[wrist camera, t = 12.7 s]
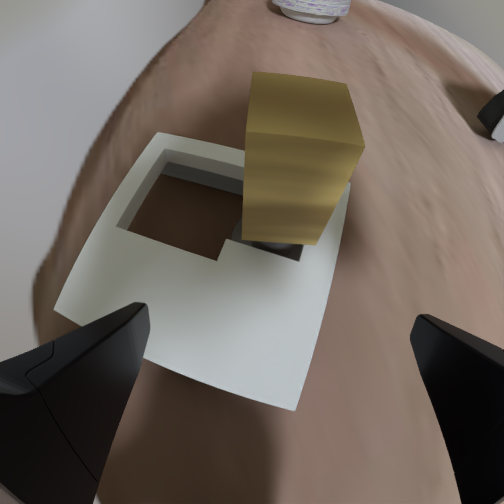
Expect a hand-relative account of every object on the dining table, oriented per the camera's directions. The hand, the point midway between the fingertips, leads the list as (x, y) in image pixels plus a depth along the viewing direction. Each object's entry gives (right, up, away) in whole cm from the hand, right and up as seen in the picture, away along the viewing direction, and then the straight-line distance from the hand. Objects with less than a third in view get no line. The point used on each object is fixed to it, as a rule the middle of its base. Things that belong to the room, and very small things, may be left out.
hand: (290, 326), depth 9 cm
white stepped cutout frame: (-4, +1, +12) cm, 13 cm away
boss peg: (0, +2, +13) cm, 13 cm away
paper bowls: (+10, +49, +35) cm, 61 cm away
